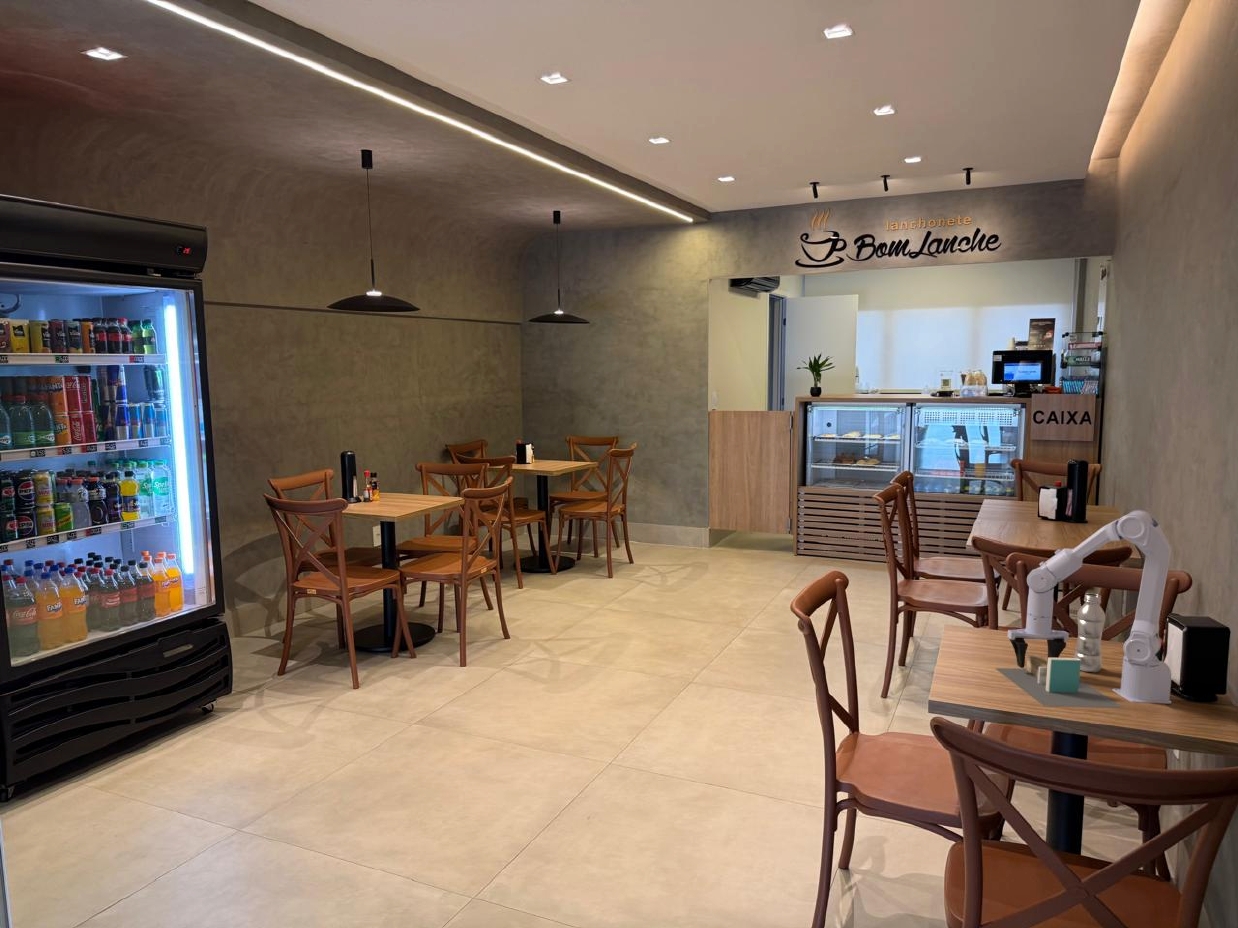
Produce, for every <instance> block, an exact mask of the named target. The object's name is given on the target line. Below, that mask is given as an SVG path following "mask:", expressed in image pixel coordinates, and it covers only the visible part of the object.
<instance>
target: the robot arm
mask: <svg viewBox="0 0 1238 928" xmlns="http://www.w3.org/2000/svg"><path fill="white" fill-rule="evenodd" d="M1122 540H1126V541H1128V542H1129V543H1131V544H1133V545H1135V546H1136V547H1137V548H1138V549H1139V550H1140V551H1141V553H1143V554H1144V555H1145V559H1144V563H1143V570H1142V575H1141V581H1140V587H1139V593H1138V597H1137V604H1136V610H1135V616H1134V621H1133V623H1132V626H1131V630H1130V633H1129V634H1130V635H1129V637H1128V639H1126V641H1124V643H1123V646H1122V649H1123V653H1124V655H1123V658H1122V669H1121V679H1120V680H1121V681H1120V688H1112V690H1111V691H1113V692H1115V693H1116V694H1118V695H1119V696H1121V697H1122V698H1124V699H1126V700H1127V701H1129V702H1131V703H1145V704H1148V703H1150V704H1151V703H1152V704H1155V703H1156V704H1167V705H1168V704H1169V705H1170V704H1172V700H1170V698H1171V697H1170V696H1171V687H1172V672H1171V669H1170V667H1169V665H1168V663H1166V662H1164V661H1162V660H1159V658H1158V656H1157V655H1156V654H1157V653H1158V652H1159V651H1160V650H1161V646H1162V641H1161V639H1160V636H1159V631H1160V626H1159V621H1160V616H1161V611H1162V605H1163V599H1164V594H1165V589H1166V582H1167V578H1168V572H1169V566H1170V563H1171V562H1170V561H1171V556H1172V547H1171V545H1170V543H1169V541H1168V538H1167V537H1166V535H1165V534H1164V531H1163V529H1162V527H1161V523H1160V521H1158V520H1157V519H1156V518H1155V517H1154V516H1153V515H1151V514H1150V513H1149V512H1147V511H1145V510H1141V509H1138V510H1136V509H1135V510H1133V511H1130V512H1129V513H1128V514H1125V515H1123V516H1121V517H1120V518H1117V519H1115V520H1113V521H1111V522H1109V523H1107V524H1105V525H1104V526H1102V527H1101V528H1099V529H1098V530H1097V531H1096V532H1094V533H1093V534H1092V535H1090V536H1089V537H1088V538H1086V539H1085V540H1083V541H1082V542H1081V543H1080V544H1078V545H1077V546H1076V547H1074V548H1063V549H1060V548H1059V549H1056V551H1054V554H1055V555H1053V556H1052V557H1050V558H1049V559H1047V560H1046V561H1041V562H1040V563H1039V566H1038V567H1036V568H1035V569H1032V570H1031V571H1030V572H1029V574H1027V577H1026V583H1027V584H1026V585H1027V586H1028V596H1027V607H1026V622H1025V628H1020V629H1019V628H1018V629H1008V630H1007V638H1008V639H1009V642H1010V643H1011V645H1012V647H1013V650H1014V654H1015V658H1016V664H1017V666H1018V667H1019V668H1020V669H1025V665H1026V664H1025V663H1026V653H1027V649H1028V646H1029V644H1028V643H1027V642H1026V640H1046V644H1047V660H1046V661H1047V662H1048V658H1060V655H1061V654H1062V652H1063V651H1064V649H1066V647H1067V642H1068V641H1069V637H1070V634H1069V632H1067V631H1064V630H1055V629H1052V627H1053V626H1052V625H1053V624H1052V623H1053V611H1054V610H1053V609H1054V591H1055V588H1054V587H1055V586H1057V584H1058V583H1059V582H1062V581H1064V580H1065V579H1067V578H1068V577H1069V576H1071V575H1072V574H1073V573H1075V572H1077V571H1078V570H1079V569H1080V568H1082V567H1083V561H1084V558H1086V557H1088V556H1089V555H1091V554H1092V553H1094V552H1096V551H1098V550H1099V549H1100V548H1101V547H1103V546H1105V545H1106V544H1108V543H1109V542H1119V541H1122ZM1065 641H1066V642H1065Z"/></svg>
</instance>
